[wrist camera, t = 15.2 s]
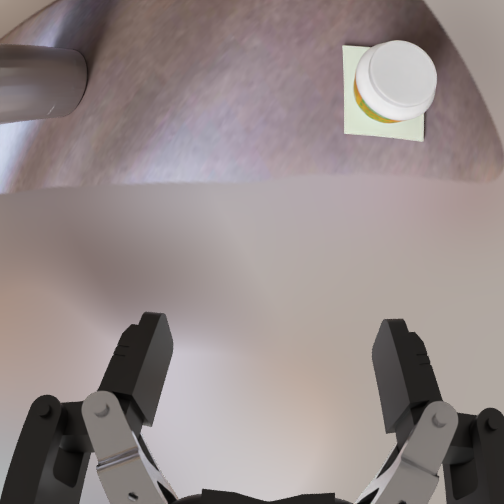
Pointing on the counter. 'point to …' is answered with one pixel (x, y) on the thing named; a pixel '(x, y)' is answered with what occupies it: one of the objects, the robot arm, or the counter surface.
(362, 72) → the supplement bottle
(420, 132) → the plate
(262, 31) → the counter surface
